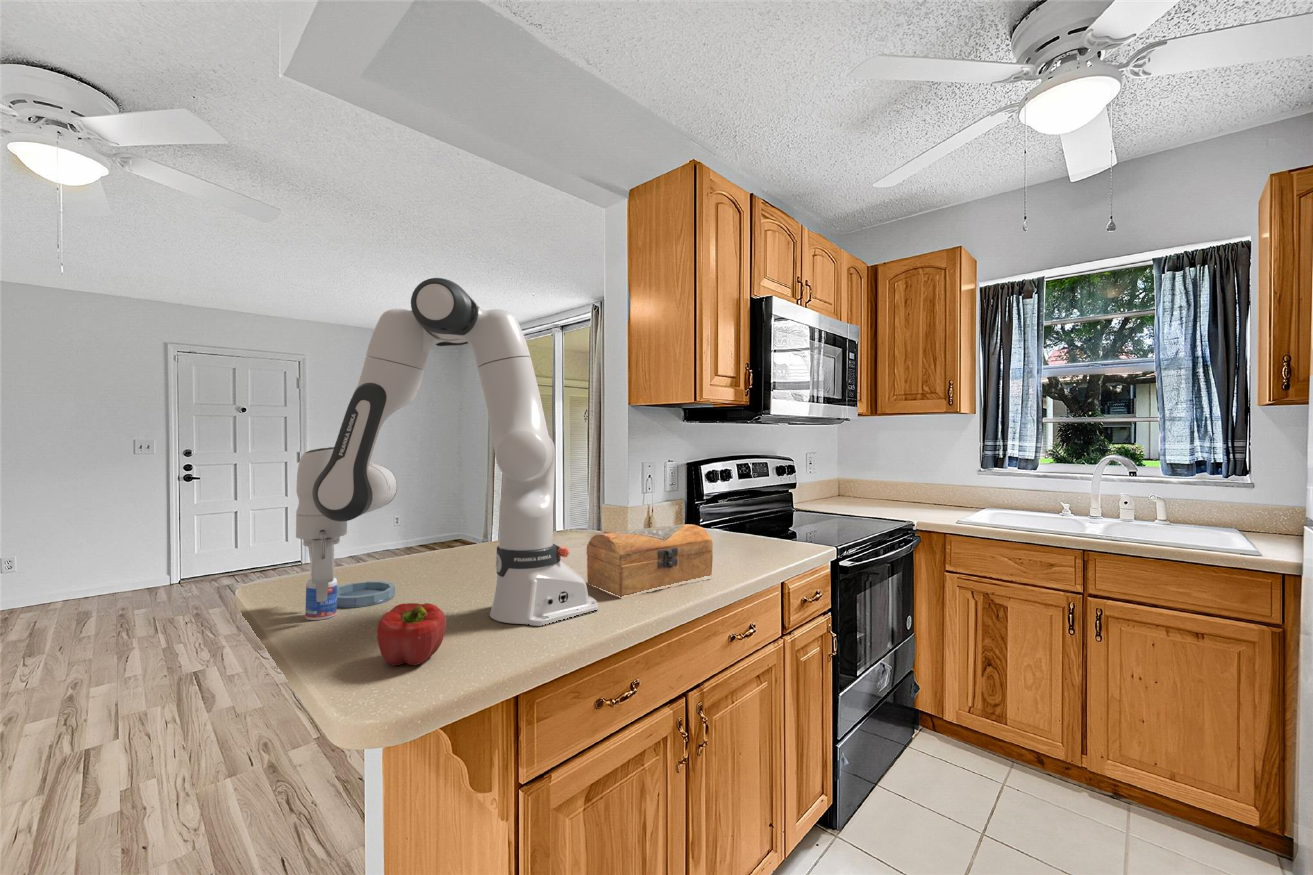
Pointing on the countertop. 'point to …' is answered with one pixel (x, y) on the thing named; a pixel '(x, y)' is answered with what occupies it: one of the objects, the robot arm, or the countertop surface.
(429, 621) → the vegetable
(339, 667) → the countertop surface
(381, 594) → the dish
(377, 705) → the countertop surface
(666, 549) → the wooden box
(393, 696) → the countertop surface
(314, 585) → the pill bottle
